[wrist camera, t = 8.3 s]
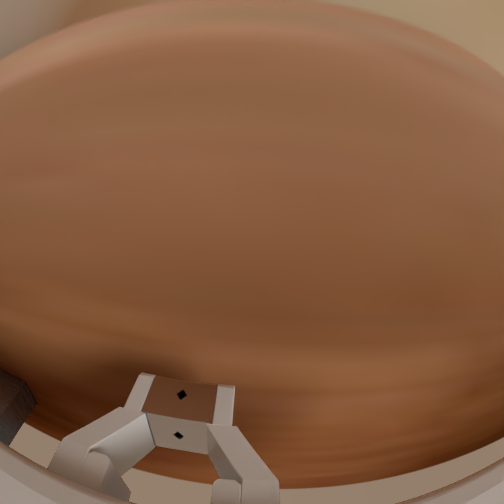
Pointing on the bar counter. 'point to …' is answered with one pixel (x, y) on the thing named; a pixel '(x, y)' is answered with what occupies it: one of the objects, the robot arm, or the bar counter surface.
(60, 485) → the robot arm
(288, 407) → the bar counter surface
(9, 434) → the bridge
